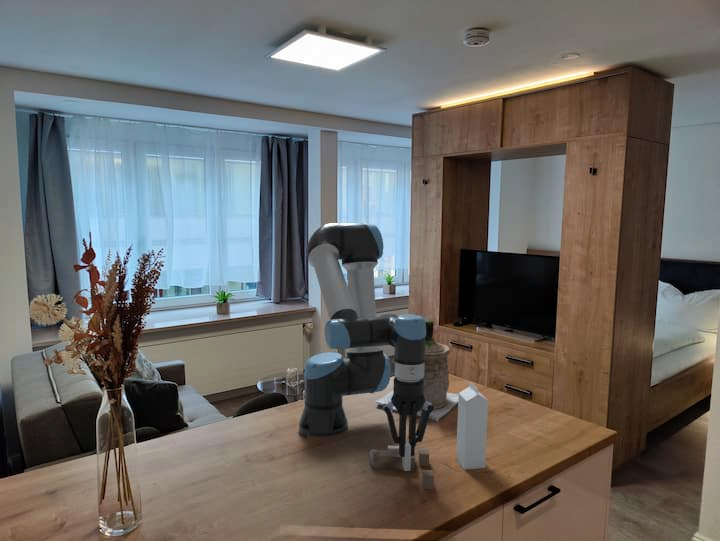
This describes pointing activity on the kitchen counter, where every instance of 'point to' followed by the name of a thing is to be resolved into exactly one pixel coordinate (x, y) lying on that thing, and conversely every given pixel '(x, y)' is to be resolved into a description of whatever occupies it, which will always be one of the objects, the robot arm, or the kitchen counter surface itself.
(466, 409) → the milk
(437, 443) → the kitchen counter surface
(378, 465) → the hinged leg
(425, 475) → the stool seat
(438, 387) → the cookie jar
